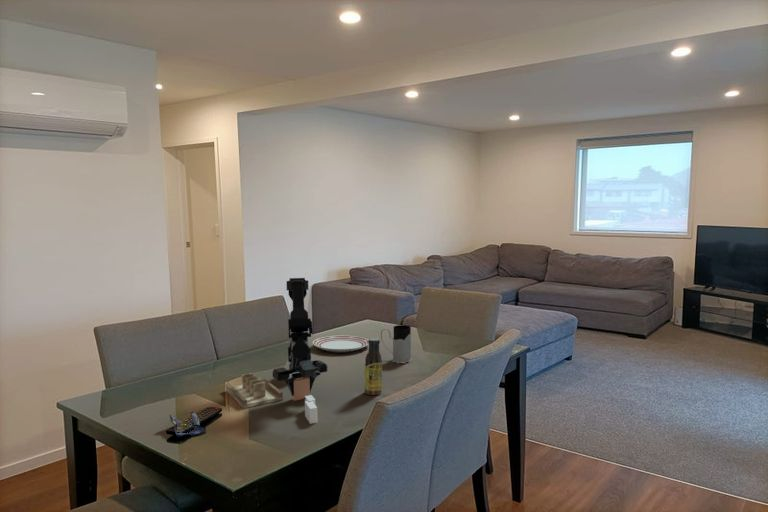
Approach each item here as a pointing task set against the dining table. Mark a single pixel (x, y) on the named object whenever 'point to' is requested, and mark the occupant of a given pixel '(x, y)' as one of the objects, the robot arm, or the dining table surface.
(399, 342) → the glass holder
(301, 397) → the pink clay brick
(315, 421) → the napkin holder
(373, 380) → the sauce bottle
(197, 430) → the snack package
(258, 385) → the dish rack
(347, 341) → the dinner plate
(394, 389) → the dining table surface
